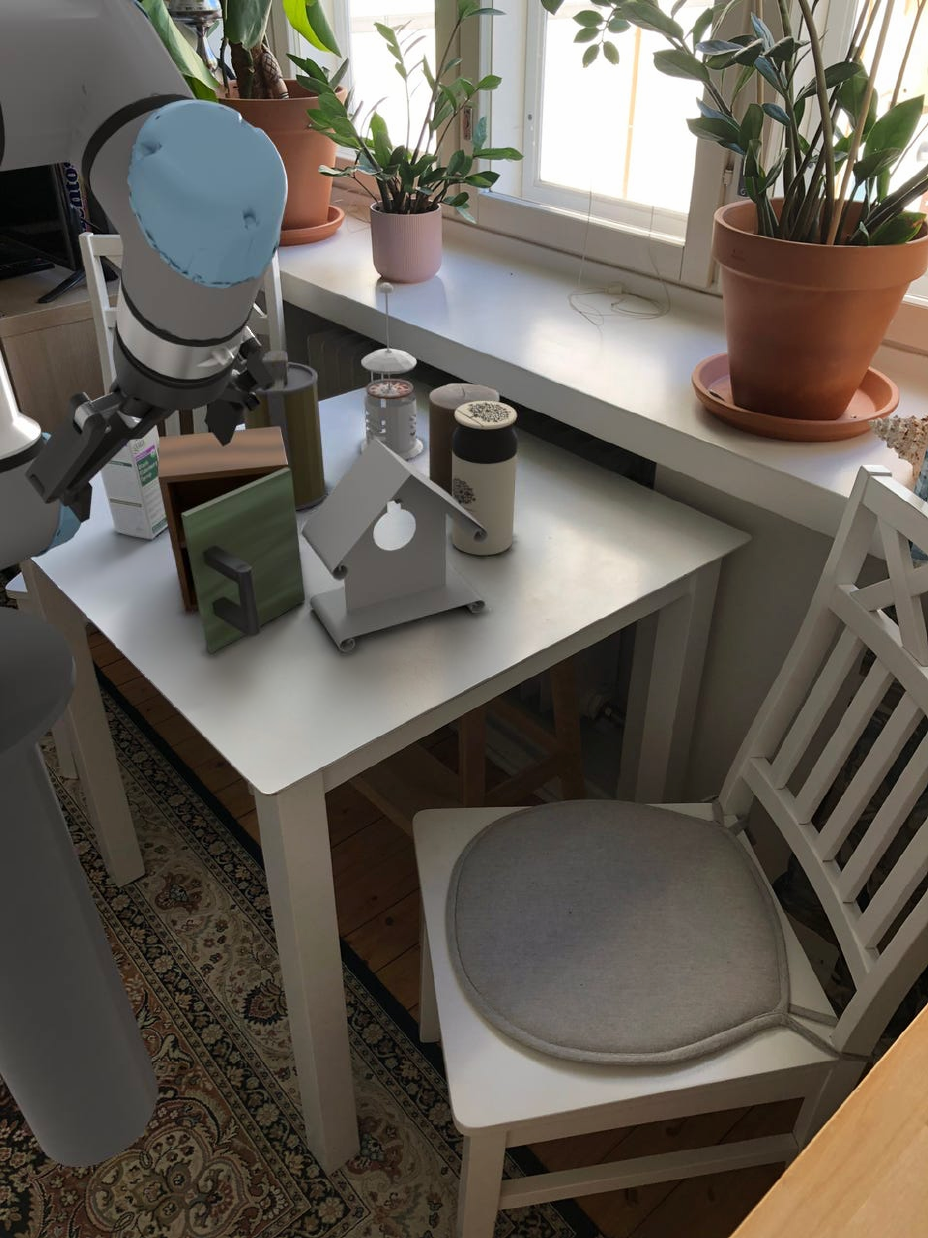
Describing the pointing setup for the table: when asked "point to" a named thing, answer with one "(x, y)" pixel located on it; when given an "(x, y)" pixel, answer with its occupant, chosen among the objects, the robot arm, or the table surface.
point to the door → (245, 558)
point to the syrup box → (136, 487)
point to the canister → (293, 424)
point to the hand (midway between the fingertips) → (149, 468)
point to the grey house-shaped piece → (386, 578)
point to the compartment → (210, 480)
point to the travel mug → (485, 473)
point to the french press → (391, 399)
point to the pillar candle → (449, 426)
